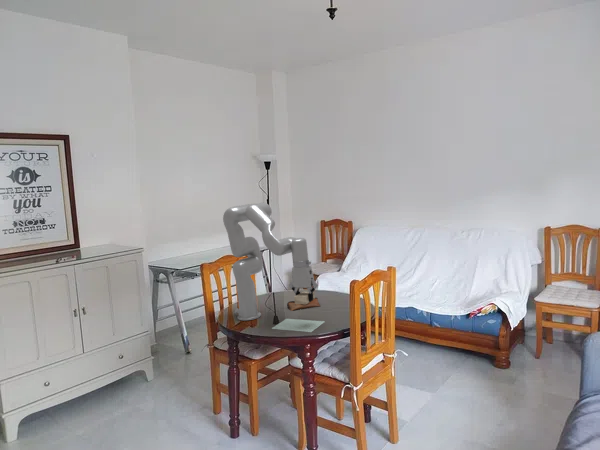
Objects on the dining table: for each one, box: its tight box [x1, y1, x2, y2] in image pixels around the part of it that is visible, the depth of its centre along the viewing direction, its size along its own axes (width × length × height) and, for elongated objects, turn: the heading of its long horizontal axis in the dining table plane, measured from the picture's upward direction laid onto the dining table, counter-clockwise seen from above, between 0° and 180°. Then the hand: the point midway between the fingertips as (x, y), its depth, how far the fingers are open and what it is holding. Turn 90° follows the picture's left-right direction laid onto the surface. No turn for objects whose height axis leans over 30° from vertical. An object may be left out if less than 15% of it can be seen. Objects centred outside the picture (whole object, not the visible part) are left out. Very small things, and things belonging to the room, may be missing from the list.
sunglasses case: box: [286, 297, 321, 312], centre depth 256 cm, size 18×7×7 cm
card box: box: [293, 290, 316, 304], centre depth 221 cm, size 9×6×4 cm, turn 152°
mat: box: [271, 318, 326, 333], centre depth 225 cm, size 22×15×1 cm
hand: (304, 300), depth 221 cm, fingers closed on card box, 6 cm apart
